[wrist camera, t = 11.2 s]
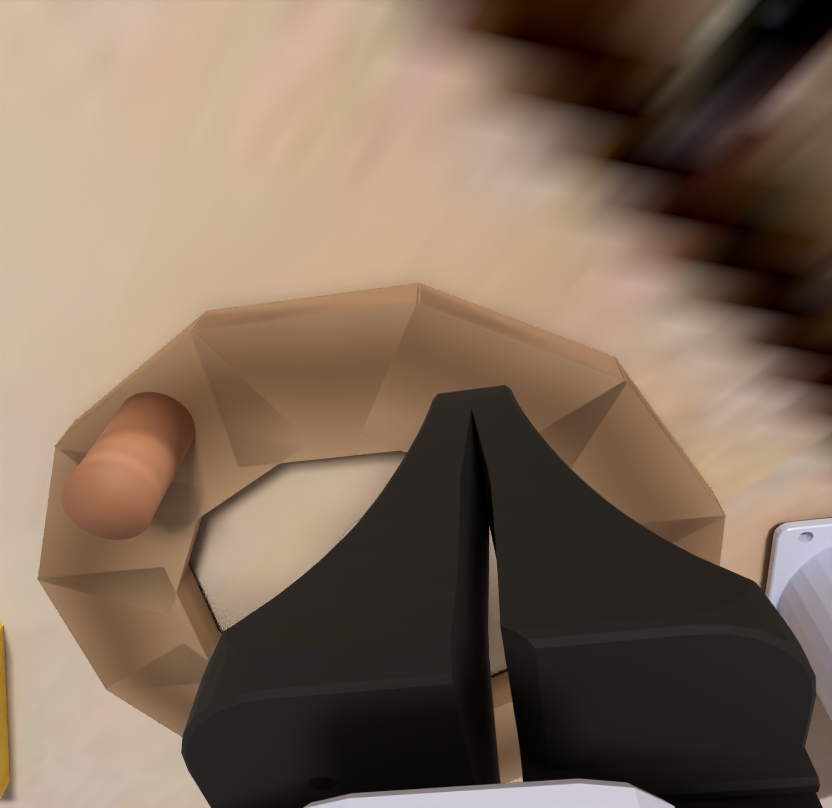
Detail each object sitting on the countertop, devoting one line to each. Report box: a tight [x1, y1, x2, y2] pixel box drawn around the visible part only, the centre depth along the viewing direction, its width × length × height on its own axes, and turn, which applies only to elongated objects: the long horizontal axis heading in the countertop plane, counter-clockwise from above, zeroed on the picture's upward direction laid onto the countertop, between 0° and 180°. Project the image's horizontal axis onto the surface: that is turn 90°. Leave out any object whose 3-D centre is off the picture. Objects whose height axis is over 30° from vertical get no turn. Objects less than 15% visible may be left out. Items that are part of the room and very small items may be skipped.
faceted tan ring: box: [37, 283, 726, 784], centre depth 25 cm, size 25×25×6 cm
